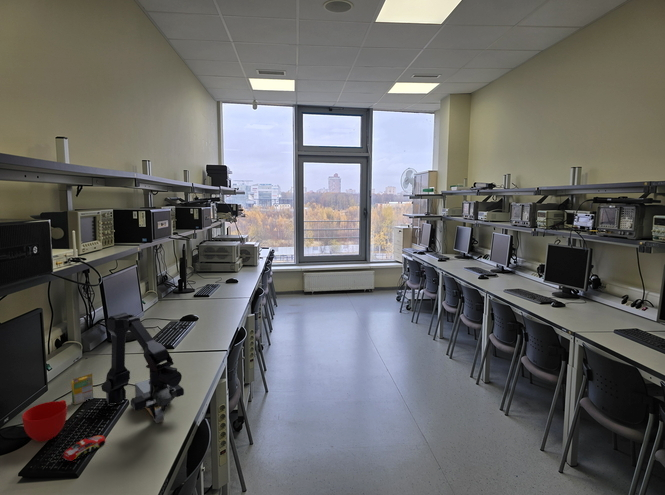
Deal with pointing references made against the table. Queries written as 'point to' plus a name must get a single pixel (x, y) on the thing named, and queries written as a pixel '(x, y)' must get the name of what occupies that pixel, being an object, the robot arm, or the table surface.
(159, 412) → the gray mallet
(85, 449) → the race car
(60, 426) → the red spouted bowl
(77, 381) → the crayon box
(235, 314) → the table surface
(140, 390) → the cabinet
